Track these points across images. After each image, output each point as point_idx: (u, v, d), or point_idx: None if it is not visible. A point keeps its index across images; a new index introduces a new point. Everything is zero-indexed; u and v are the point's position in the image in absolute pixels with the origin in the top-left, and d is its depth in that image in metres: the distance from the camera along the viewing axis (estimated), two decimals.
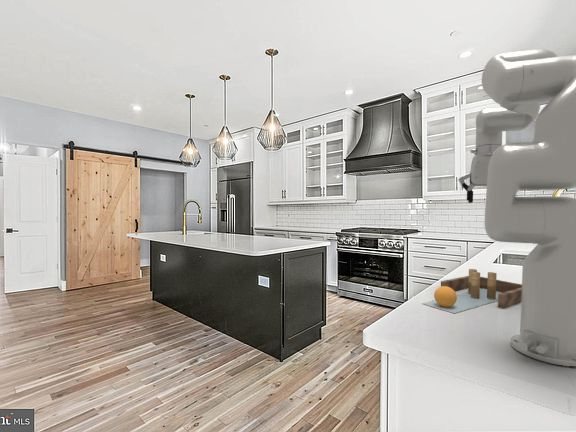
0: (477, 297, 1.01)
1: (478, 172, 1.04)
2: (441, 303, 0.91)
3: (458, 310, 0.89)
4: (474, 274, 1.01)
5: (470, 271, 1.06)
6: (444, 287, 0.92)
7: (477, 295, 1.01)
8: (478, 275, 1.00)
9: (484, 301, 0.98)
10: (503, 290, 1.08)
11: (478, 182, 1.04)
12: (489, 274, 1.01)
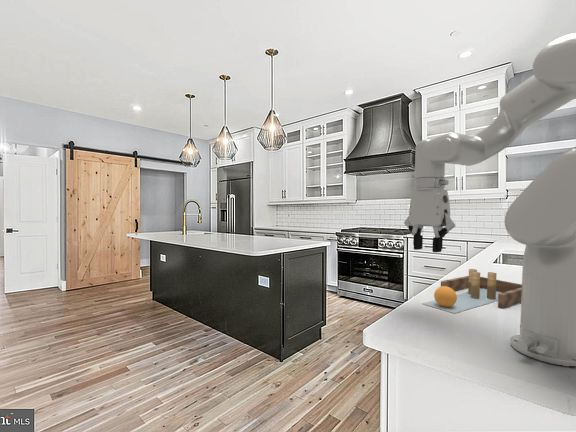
0: (477, 297, 1.01)
1: None
2: (441, 303, 0.91)
3: (458, 310, 0.89)
4: (474, 274, 1.01)
5: (470, 271, 1.06)
6: (444, 287, 0.92)
7: (477, 295, 1.01)
8: (478, 275, 1.00)
9: (484, 301, 0.98)
10: (503, 290, 1.08)
11: None
12: (489, 274, 1.01)
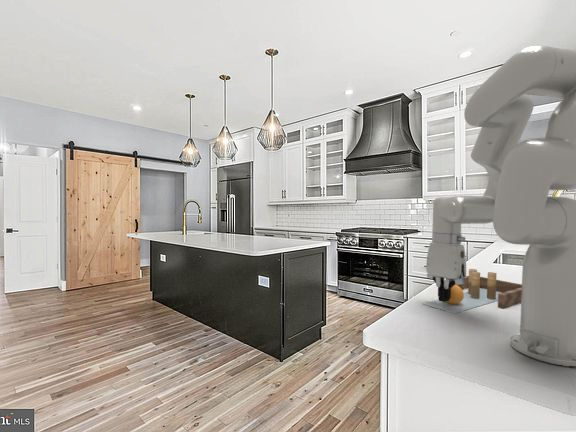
0: (477, 297, 1.01)
1: None
2: None
3: (458, 310, 0.89)
4: (474, 274, 1.01)
5: (470, 271, 1.06)
6: None
7: (477, 295, 1.01)
8: (478, 275, 1.00)
9: (484, 301, 0.98)
10: (503, 290, 1.08)
11: None
12: (489, 274, 1.01)
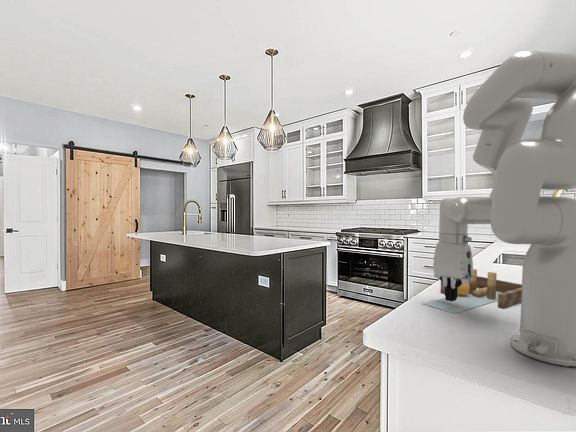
0: (479, 291, 1.03)
1: None
2: (466, 293, 1.04)
3: (458, 310, 0.89)
4: (486, 287, 1.08)
5: None
6: None
7: (480, 291, 1.03)
8: None
9: (484, 301, 0.98)
10: (503, 290, 1.08)
11: None
12: (489, 274, 1.01)
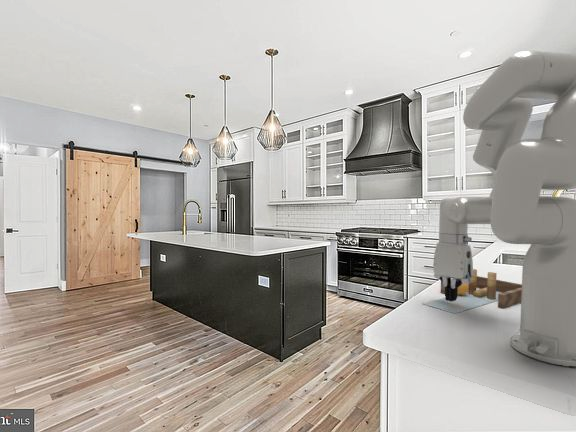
0: (480, 292, 1.02)
1: None
2: (466, 292, 1.04)
3: (458, 310, 0.89)
4: None
5: None
6: None
7: (481, 292, 1.03)
8: None
9: (484, 301, 0.98)
10: (503, 290, 1.08)
11: None
12: (489, 274, 1.01)
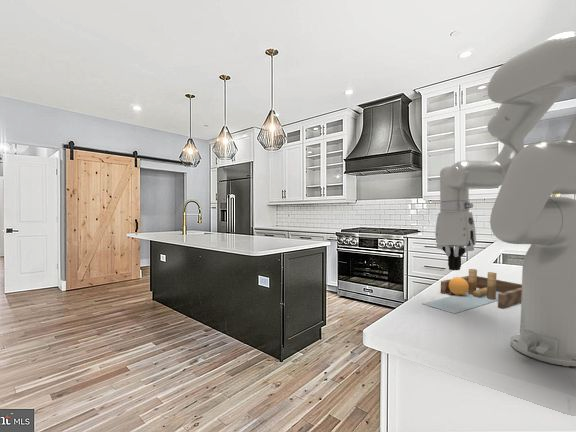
0: (480, 292, 1.02)
1: None
2: (466, 292, 1.04)
3: (458, 310, 0.89)
4: (486, 287, 1.07)
5: (470, 271, 1.06)
6: (455, 283, 1.04)
7: (480, 291, 1.03)
8: None
9: (484, 301, 0.98)
10: (503, 290, 1.08)
11: None
12: (489, 274, 1.01)
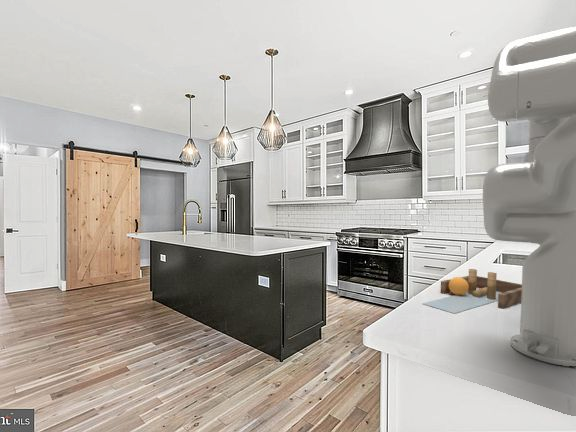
0: (479, 291, 1.03)
1: None
2: (466, 292, 1.04)
3: (458, 310, 0.89)
4: (486, 287, 1.08)
5: (470, 271, 1.06)
6: (455, 283, 1.04)
7: (480, 291, 1.03)
8: None
9: (484, 301, 0.98)
10: (503, 290, 1.08)
11: None
12: (489, 274, 1.01)
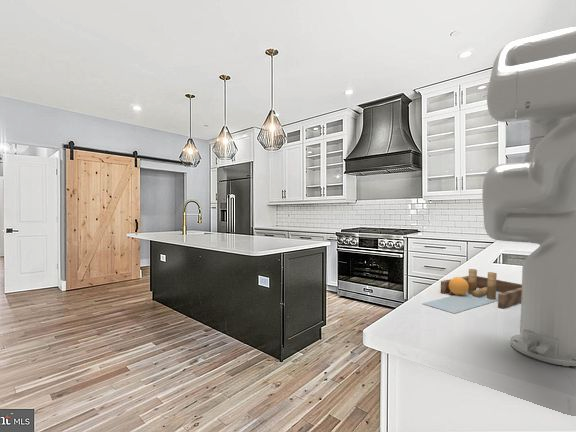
0: (479, 291, 1.03)
1: None
2: (466, 292, 1.04)
3: (458, 310, 0.89)
4: (485, 287, 1.08)
5: (470, 271, 1.06)
6: (455, 283, 1.04)
7: (479, 291, 1.03)
8: None
9: (484, 301, 0.98)
10: (503, 290, 1.08)
11: None
12: (489, 274, 1.01)
